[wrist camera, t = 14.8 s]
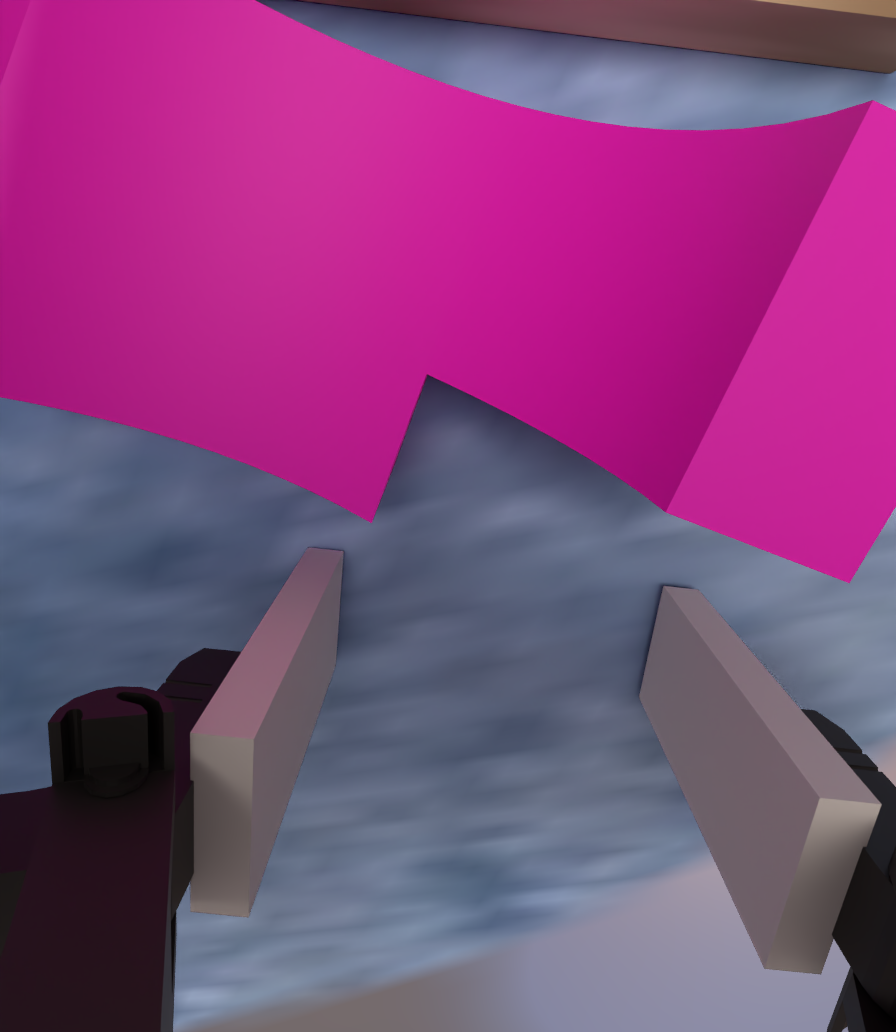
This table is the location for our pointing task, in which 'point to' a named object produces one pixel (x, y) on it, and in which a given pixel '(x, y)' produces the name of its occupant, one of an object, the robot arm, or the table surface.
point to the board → (695, 24)
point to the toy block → (442, 269)
